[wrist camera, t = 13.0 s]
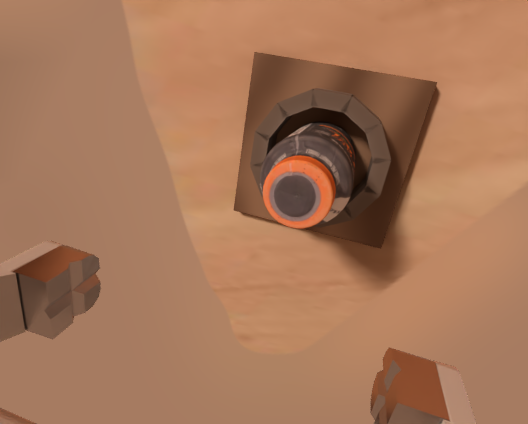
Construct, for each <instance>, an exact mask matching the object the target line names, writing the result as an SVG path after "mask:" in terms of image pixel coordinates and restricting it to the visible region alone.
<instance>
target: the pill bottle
mask: <svg viewBox="0 0 528 424" xmlns="http://www.w3.org/2000/svg"><path fill="white" fill-rule="evenodd" d="M355 165H356V149H355V146H354V143H353V141H352V138H351V137H350V136H349V134H348V133H347V132H346V131H345V130H344V129H342V128H341V127H339V126H337V125H335V124H332V123H330V122H322V121H318V122H312V123H308V124H306V125H304V126H302V127H300V128H299V129H297V130H296V131H295V132H293V133H292V134H290V135H289V136H287V137H286V138H285V139H283V140H282V141H280V142H279V143H278V144H276V145H275V146H274V147H273V148H272V149H271V150H270V151H269V153H268V154H267V156H266V157H265V159H264V161H263V164H262V167H261V171H260V187H261V191H262V195H263V200H264V203H265V206H266V208H267V210H268V212H269V213H270V214H271V216H272V217H273V218H274V219H275V220H277V221H278V222H279V223H281V224H283V225H285V226H288V227H291V228H298V229H302V228H308V227H311V226H315V225H319V224H323V223H325V222H328V221H329V220H331V219H333V218H334V217H336V216H337V215H338V214H339V213H340V212H341V211H342V210H343V209H344V207H345V206H346V204H347V203H348V201H349V198H350V196H351V193H352V189H353V182H354V173H355Z"/></svg>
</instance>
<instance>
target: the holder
mask: <svg viewBox="0 0 528 424" xmlns="http://www.w3.org/2000/svg"><path fill="white" fill-rule="evenodd" d="M436 84H437V82H432V81H426V80H420V79H414V78H408V77H402V76H396V75H390V74H384V73H378V72H372V71H366V70H360V69H354V68H348V67H342V66H336V65H330V64H324V63H318V62H312V61H306V60H300V59H293V58H287V57H281V56H275V55H269V54H263V53H257V52H254V60H253V68H252V75H251V83H250V90H249V98H248V105H247V113H246V121H245V128H244V136H243V143H242V151H241V159H240V166H239V174H238V181H237V189H236V197H235V204H234V210H235V211H238V212H242V213H246V214H250V215H254V216H258V217H261V218H265V219H269V220H273V221H277V220H275V219H274V218H273V217H272V216H271V214H270V213H269V212H268V210H267V208H266V206H265V203H264V200H263V195H262V191H261V187H260V171H261V167H262V164H263V161H264V159H265V157H266V156H267V154H268V153H269V151H270V150H271V149H272V148H273V147H274V146H275V145H276V144H278V143H279V142H280V141H282V140H283V139H285V138H286V137H287V136H289V135H290V134H292V133H293V132H295V131H296V130H297V129H299V128H300V127H302V126H304V125H306V124H308V123H312V122H318V121H322V122H330V123H332V124H335V125H337V126H339V127H341V128H342V129H344V130H345V131H346V132H347V133H348V134H349V136H350V137H351V138H352V141H353V143H354V146H355V149H356V165H355V173H354V182H353V189H352V193H351V196H350V198H349V201H348V203H347V204H346V206H345V207H344V209H343V210H342V211H341V212H340V213H339V214H338V215H337V216H336V217H334V218H333V219H331V220H329V221H328V222H325V223H323V224H319V225H315V226H311V227H308V228H304V229H308V230H312V231H315V232H319V233H323V234H327V235H331V236H335V237H338V238H342V239H346V240H350V241H354V242H358V243H362V244H365V245H369V246H373V247H377V248H381V247H382V244H383V241H384V238H385V235H386V232H387V229H388V226H389V223H390V220H391V217H392V214H393V211H394V208H395V205H396V202H397V199H398V196H399V194H400V191H401V188H402V185H403V182H404V179H405V176H406V173H407V170H408V167H409V164H410V161H411V158H412V155H413V152H414V149H415V146H416V143H417V140H418V137H419V134H420V131H421V128H422V125H423V122H424V119H425V116H426V113H427V110H428V108H429V105H430V102H431V99H432V96H433V93H434V90H435V87H436ZM277 222H278V221H277Z"/></svg>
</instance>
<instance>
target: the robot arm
mask: <svg viewBox="0 0 528 424" xmlns="http://www.w3.org/2000/svg"><path fill="white" fill-rule="evenodd" d="M99 268H100V267H99V258H97V257H96V256H95V255H93V254H89V253H87V252H84V251H81V250H78V249H75V248H72V247H69V246H65V245H63V244H60V243H57V242H54V241H45V242H43V243H41V244H39V245H36V246H35V247H32V248H31V249H28V250H26V251H25V252H22V253H20V254H19V255H16V256H14V257H12V258H11V259H8V260H6V261H5V262H2V263H0V342H1V341H4V340H6V339H8V338H11V337H13V336H16V335H18V334H21V333H23V332H25V330H27V331H30V332H33V333H36V334H39V335H42V336H45V337H47V338H50V339H54V338H55V337H56V336H57V335H59V334H60V333H61V332H62V331H64V330H65V329H66V328H67V327H68V326H70V325H71V324H72V323H73V319H74V316H76V315H79V314H82V313H85V312H86V311H88V310H89V309H90V308H91V307H92V306H93V305H94V303H95V302H96V300H97V298H98V297H99V292H100V280H99V279H98V277H97V275H96V274H95V273H96V272H97V271H98V270H99ZM371 415H372V416H373V418H374V419H375V422H374V424H477V423H476V420H475V418H474V414H473V411H472V408H471V405H470V402H469V399H468V396H467V393H466V390H465V387H464V384H463V381H462V378H461V375H460V372H459V370H458V369H457V368H456V367H454V366H451V365H447V364H444V363H440V362H437V361H431V360H428V359H425V358H421V357H418V356H415V355H411V354H409V353H405V352H402V351H399V350H396V349H392V348H388V350H387V351H386V353H385V355H384V358H383V370H382V371H380V372H378V373H377V376H376V378H375V381H374V385H373V389H372V394H371ZM0 424H36V423H34V422H31V421H29V420H27V419H25V418H22V417H20V416H18V415H15V414H13V413H11V412H9V411H6V410H4V409H2V408H0Z"/></svg>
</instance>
